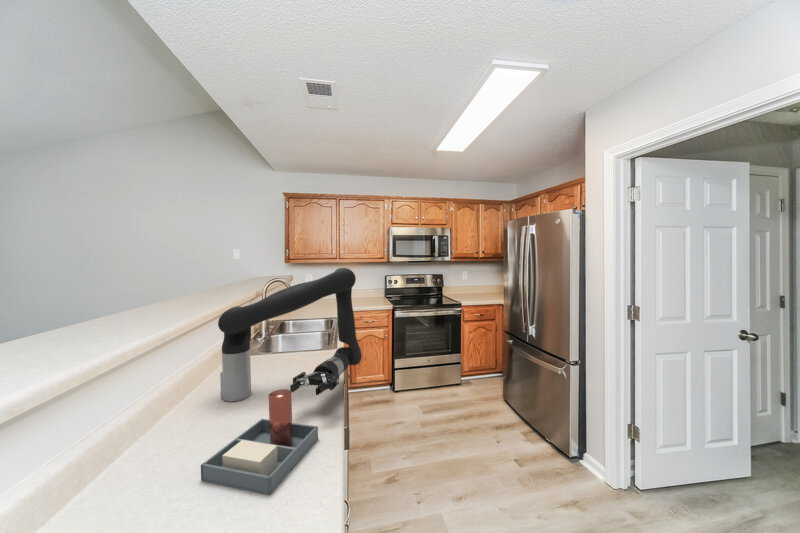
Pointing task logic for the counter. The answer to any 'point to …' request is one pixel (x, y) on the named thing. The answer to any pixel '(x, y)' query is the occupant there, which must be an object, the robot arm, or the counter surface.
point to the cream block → (252, 457)
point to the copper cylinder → (280, 418)
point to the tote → (252, 481)
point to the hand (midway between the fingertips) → (303, 390)
